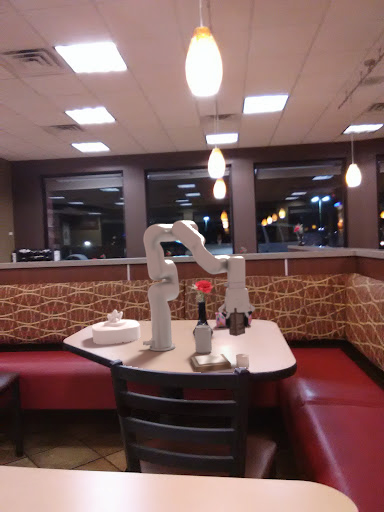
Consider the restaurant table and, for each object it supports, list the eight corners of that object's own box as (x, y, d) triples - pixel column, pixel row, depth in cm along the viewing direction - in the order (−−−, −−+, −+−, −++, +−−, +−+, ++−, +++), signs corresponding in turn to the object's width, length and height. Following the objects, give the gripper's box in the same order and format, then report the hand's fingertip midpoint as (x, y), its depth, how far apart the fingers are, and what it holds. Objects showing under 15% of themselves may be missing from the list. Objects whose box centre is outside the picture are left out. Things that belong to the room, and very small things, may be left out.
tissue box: (92, 336, 228) (90, 308, 227) (135, 331, 235) (134, 304, 234) (94, 346, 204) (92, 315, 203) (142, 340, 211) (141, 310, 210)
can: (206, 354, 178) (205, 328, 178) (192, 353, 182) (191, 327, 182) (214, 350, 185) (213, 324, 184) (201, 348, 189) (199, 323, 188)
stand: (196, 372, 155) (196, 365, 155) (191, 361, 169) (190, 355, 169) (231, 368, 158) (231, 362, 158) (223, 358, 171) (222, 352, 171)
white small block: (238, 369, 157) (237, 358, 156) (235, 365, 161) (234, 354, 161) (250, 368, 157) (250, 356, 157) (247, 364, 162) (246, 353, 162)
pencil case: (217, 329, 230) (216, 313, 229) (214, 325, 239) (213, 310, 238) (253, 326, 233) (252, 310, 233) (248, 323, 242) (247, 308, 242)
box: (237, 332, 174) (237, 304, 174) (245, 333, 171) (245, 306, 170) (228, 334, 170) (227, 306, 170) (236, 336, 167) (235, 308, 166)
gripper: (218, 287, 164) (219, 329, 165) (258, 285, 167) (259, 327, 168) (214, 285, 172) (215, 325, 173) (253, 283, 175) (253, 323, 176)
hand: (236, 326), depth 171 cm, fingers closed on box, 7 cm apart
